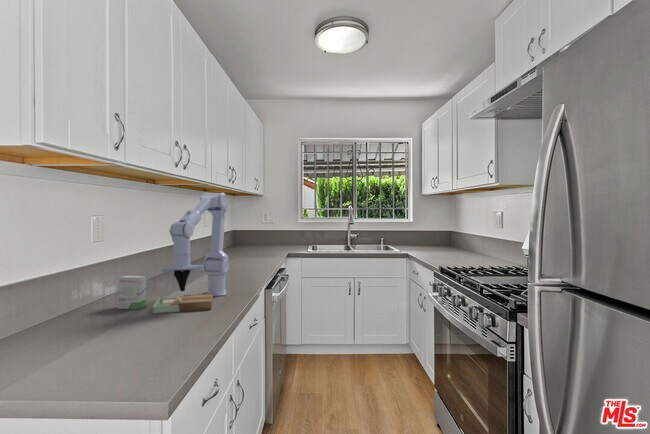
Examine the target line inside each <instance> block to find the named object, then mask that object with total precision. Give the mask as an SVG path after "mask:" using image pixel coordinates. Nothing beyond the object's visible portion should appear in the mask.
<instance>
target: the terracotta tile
mask: <svg viewBox="0 0 650 434" xmlns="http://www.w3.org/2000/svg"><path fill="white" fill-rule="evenodd" d="M177 297H178V298H176V299H175V300H174V301H173V302H171V303H170V304H169V305H178V304H179V303H180V302H181V301H182V299H181V298H180V297H181V296H177Z"/></svg>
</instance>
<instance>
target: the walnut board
mask: <svg viewBox="0 0 650 434" xmlns="http://www.w3.org/2000/svg"><path fill="white" fill-rule="evenodd" d="M182 297H183V298H182V301H181V302H180V303H179V310H180V312H196V311H197V312H198V311H211V310H212V307H213V302H214V296H213V294H207V293H200V294H196V293H195V294H184V295H183V296H182ZM180 312H179V313H180Z"/></svg>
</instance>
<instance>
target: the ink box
mask: <svg viewBox="0 0 650 434" xmlns="http://www.w3.org/2000/svg"><path fill="white" fill-rule="evenodd" d="M145 307H147V276H145V275H123V276H120V277H118V278H117V309H118V310H141V309H143V308H145Z"/></svg>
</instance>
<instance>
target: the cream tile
mask: <svg viewBox="0 0 650 434" xmlns="http://www.w3.org/2000/svg"><path fill="white" fill-rule="evenodd" d="M174 300H175V299H168V300H163V302H162V306H169V304H170V303H171V302H173V301H174Z"/></svg>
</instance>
